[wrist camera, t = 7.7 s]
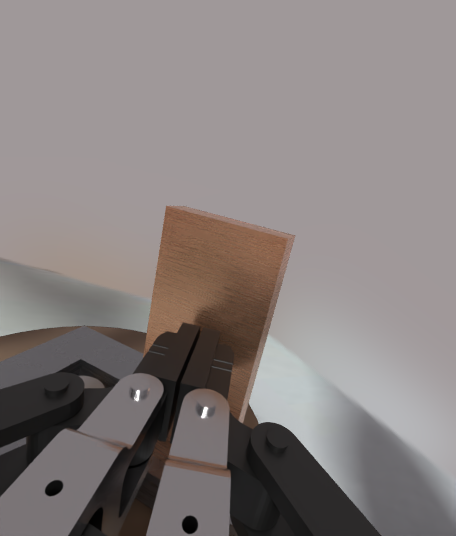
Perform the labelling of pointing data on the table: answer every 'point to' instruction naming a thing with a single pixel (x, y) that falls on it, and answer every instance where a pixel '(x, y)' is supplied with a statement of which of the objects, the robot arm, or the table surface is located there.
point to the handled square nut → (182, 314)
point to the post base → (127, 339)
